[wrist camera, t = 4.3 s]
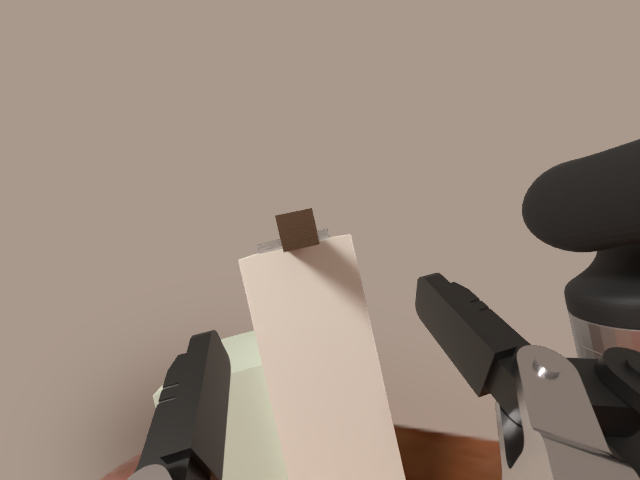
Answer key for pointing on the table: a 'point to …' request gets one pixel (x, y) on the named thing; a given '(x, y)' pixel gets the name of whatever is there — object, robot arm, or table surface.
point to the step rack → (307, 373)
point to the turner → (295, 232)
